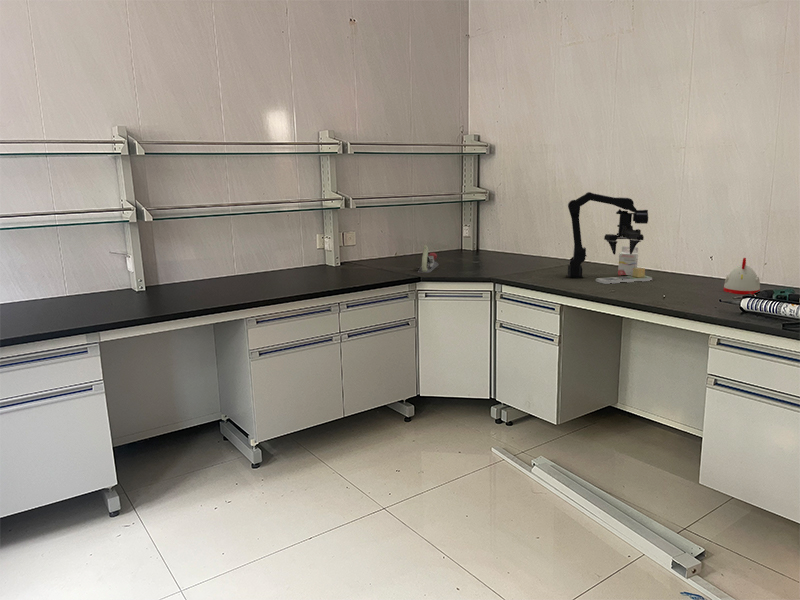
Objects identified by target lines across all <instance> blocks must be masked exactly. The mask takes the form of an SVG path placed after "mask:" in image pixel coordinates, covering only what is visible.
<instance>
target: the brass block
mask: <svg viewBox="0 0 800 600" xmlns="http://www.w3.org/2000/svg"><path fill="white" fill-rule="evenodd" d="M645 276H646V268H644V267H637V268H633V276H632V277H635V278H644V277H645Z"/></svg>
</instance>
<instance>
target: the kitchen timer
mask: <svg viewBox="0 0 800 600" xmlns="http://www.w3.org/2000/svg"><path fill="white" fill-rule="evenodd" d="M758 291H761V280H760V277H759V276H757V274H756V272H755V270H754V269H752V268H751V267H750V266H748V265H747V258H746V257H743V259H742V263H741V265H739V266H736V267H734V269H732V270H731V271H730V273H729V274H728V275H726V277H725V279H724V285H723V292H725V293H728V292H729V294H733V295H734V294H735V295H746V294H751V295H755V294H754V293H756V292H758Z"/></svg>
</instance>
